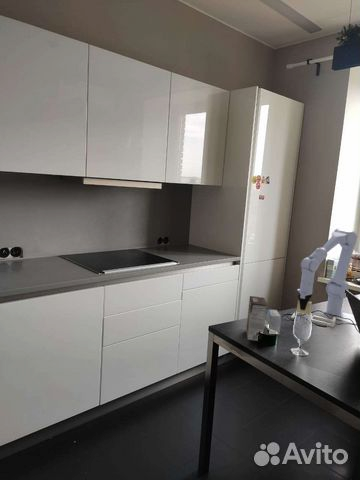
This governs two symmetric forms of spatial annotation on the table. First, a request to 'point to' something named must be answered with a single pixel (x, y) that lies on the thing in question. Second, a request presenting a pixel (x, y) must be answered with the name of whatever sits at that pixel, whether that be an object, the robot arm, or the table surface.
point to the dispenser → (324, 320)
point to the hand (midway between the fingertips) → (303, 308)
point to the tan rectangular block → (307, 310)
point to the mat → (294, 315)
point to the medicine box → (274, 320)
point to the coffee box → (256, 317)
